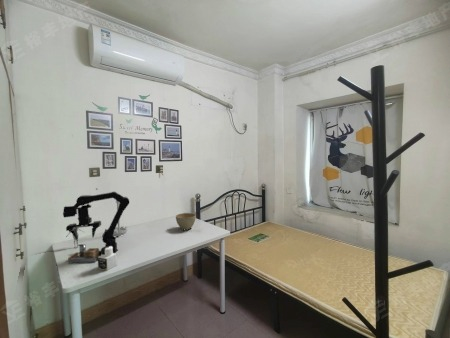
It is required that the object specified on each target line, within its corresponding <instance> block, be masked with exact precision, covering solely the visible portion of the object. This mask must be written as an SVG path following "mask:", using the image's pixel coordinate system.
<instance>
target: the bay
mask: <svg viewBox="0 0 450 338" xmlns="http://www.w3.org/2000/svg"><path fill="white" fill-rule="evenodd" d="M86 247H87V246H86V244H78V248H79V252H78V251H77V252H75V253H73V254H71V255H70V256H69V257H68V259H67V261H68V263H69V264H83V263H84V264H86V263H96V262H98V257H99V256H101V250H99V256H98V257H97V258H96V257H90V258H84V252H85V251H86V250H87V248H86Z"/></svg>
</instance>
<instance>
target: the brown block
mask: <svg viewBox="0 0 450 338" xmlns="http://www.w3.org/2000/svg"><path fill="white" fill-rule="evenodd" d="M99 251H100V249H99V247H97V248H94V247H93V248H92V247H91V248H88V249H86V251H85V252H84V258H90V257H96V258H97V257H98V256H99Z"/></svg>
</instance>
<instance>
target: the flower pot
mask: <svg viewBox="0 0 450 338" xmlns="http://www.w3.org/2000/svg"><path fill="white" fill-rule="evenodd" d="M196 219H197V214H195V213H192V212H184V213H178V214H176V215H175V220H176V223H177V225H178V226H179V228H180V229H181V230H182V229H189V230H191V229H192V228H193V226H194V225H195V222H196ZM190 228H191V229H190Z"/></svg>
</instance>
